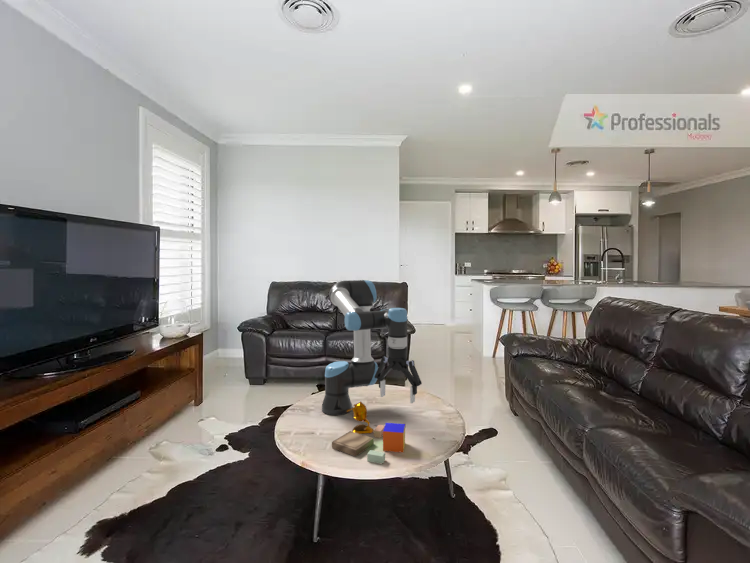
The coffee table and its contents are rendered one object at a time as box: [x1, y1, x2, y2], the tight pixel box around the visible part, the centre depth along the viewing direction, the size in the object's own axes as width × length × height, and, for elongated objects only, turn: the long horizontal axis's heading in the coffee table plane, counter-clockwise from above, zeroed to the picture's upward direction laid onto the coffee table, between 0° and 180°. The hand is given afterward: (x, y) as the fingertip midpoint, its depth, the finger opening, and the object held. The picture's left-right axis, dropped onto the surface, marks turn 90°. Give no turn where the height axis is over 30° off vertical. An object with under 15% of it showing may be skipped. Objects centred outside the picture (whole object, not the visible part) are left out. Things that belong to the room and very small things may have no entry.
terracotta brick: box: [373, 424, 385, 439], centre depth 168 cm, size 6×3×3 cm, turn 158°
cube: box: [382, 422, 406, 453], centre depth 156 cm, size 8×8×8 cm
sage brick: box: [366, 449, 386, 464], centre depth 146 cm, size 6×3×3 cm, turn 71°
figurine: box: [347, 401, 374, 435], centre depth 171 cm, size 8×11×12 cm
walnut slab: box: [331, 430, 375, 457], centre depth 157 cm, size 12×12×3 cm
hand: (397, 399), depth 156 cm, fingers open, 13 cm apart
